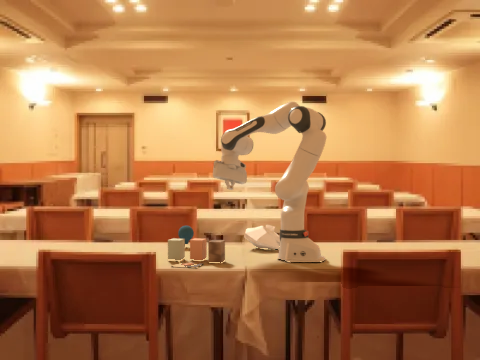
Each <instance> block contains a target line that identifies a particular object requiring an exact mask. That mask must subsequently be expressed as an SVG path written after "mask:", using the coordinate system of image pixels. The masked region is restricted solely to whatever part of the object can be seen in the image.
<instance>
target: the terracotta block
mask: <svg viewBox="0 0 480 360" xmlns="http://www.w3.org/2000/svg"><path fill="white" fill-rule="evenodd" d="M207 241H208V240H207V238H202V237H201V238H197V237H193V238H192V239H191V240H190V241H189V260H190V259H194V260H203V259H205V258H206V257H207V253H208V252H207V250H208V249H207V246H208V245H207V243H208V242H207ZM207 258H208V257H207Z"/></svg>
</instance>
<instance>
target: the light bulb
mask: <svg viewBox="0 0 480 360" xmlns="http://www.w3.org/2000/svg"><path fill="white" fill-rule="evenodd" d="M194 232H195V231H194V229H193V228H192V227H191V226H190V225H182V226H181V227H180V228H179V229H178V232H177V233H178V234H177V235H178V239H185V244H188V245H189V244H190V240H191V239H194V235H195V233H194Z"/></svg>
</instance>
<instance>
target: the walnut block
mask: <svg viewBox="0 0 480 360" xmlns="http://www.w3.org/2000/svg"><path fill="white" fill-rule="evenodd" d="M207 243H208V245H207V246H208V249H207V250H208V252H207V253H208V257H207V259H208V262H220V263H221V262H223V261H224V260H225V261H226V240H225V239H212V240H209V241H208V242H207Z"/></svg>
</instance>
